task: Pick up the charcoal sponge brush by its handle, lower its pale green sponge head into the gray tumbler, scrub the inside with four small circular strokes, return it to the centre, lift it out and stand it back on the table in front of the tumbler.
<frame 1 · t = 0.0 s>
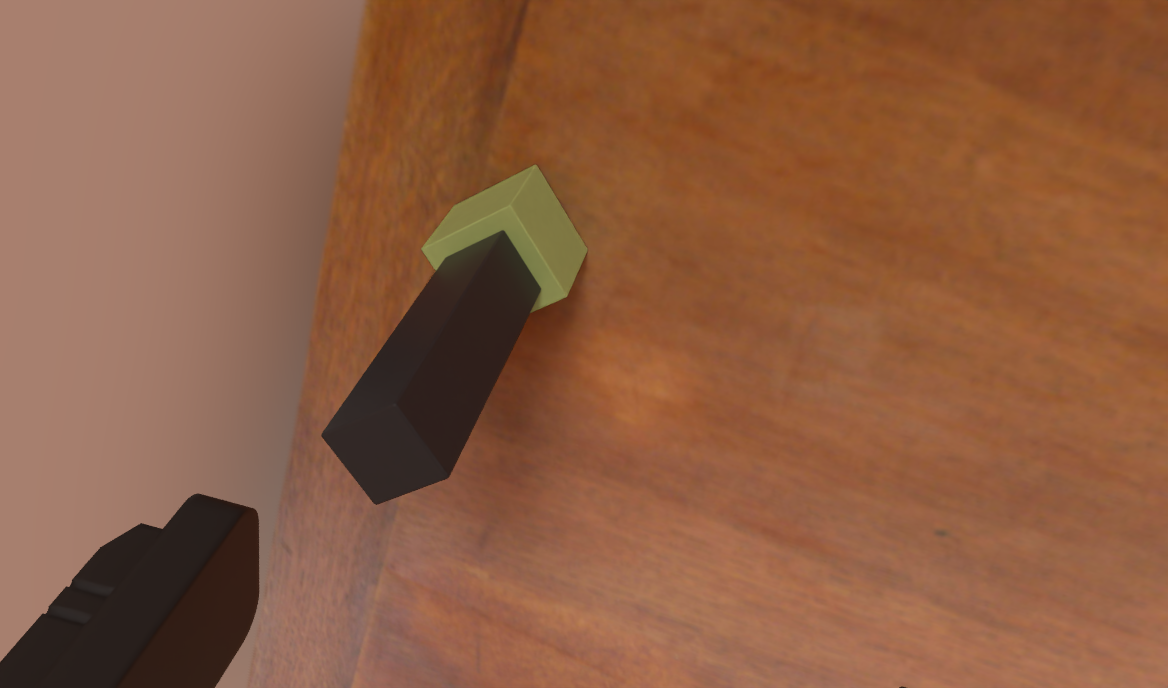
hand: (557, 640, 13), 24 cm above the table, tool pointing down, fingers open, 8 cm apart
brush: (520, 227, 37), on the table
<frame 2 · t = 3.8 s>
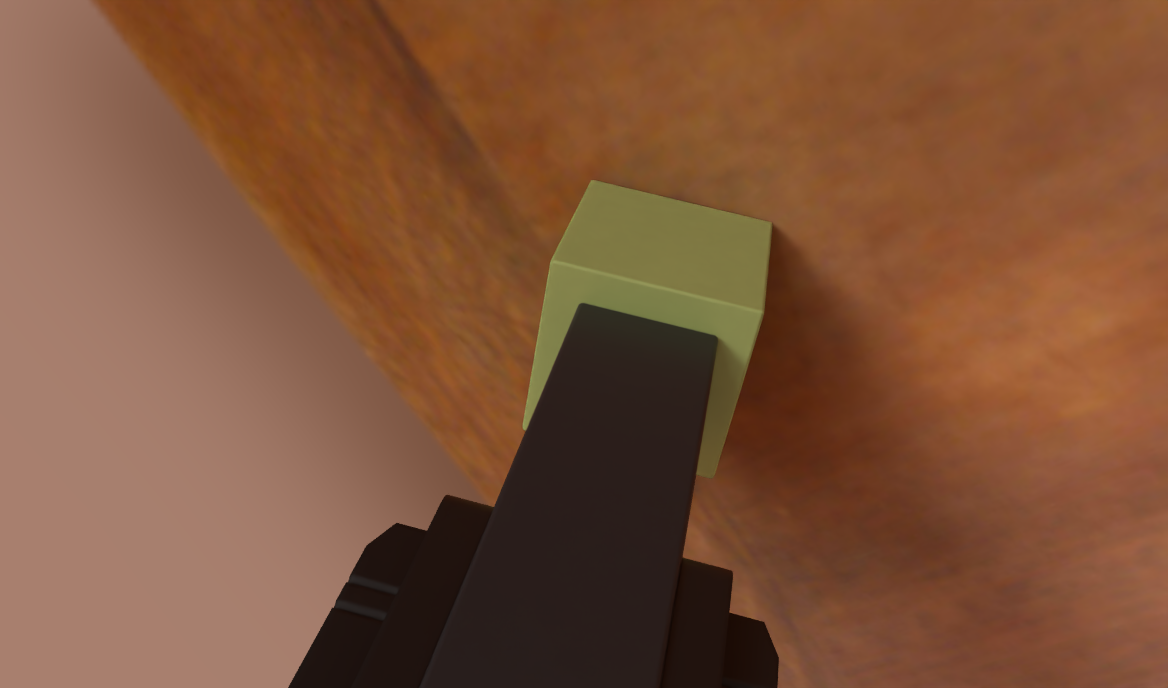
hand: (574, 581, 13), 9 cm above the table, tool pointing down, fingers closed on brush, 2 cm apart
brush: (662, 280, 21), on the table, touching gripper
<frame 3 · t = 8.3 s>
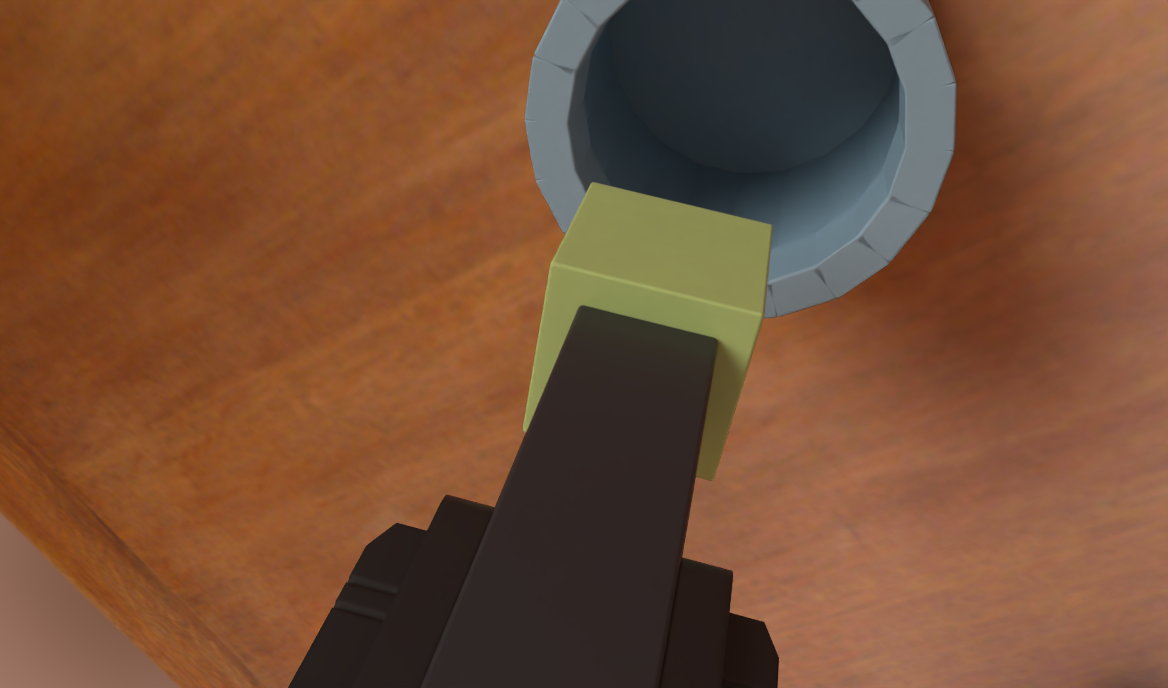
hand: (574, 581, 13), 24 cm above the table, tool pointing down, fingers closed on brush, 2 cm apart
gray tumbler: (754, 28, 33), on the table
brush: (662, 282, 21), point 15 cm above the table, touching gripper
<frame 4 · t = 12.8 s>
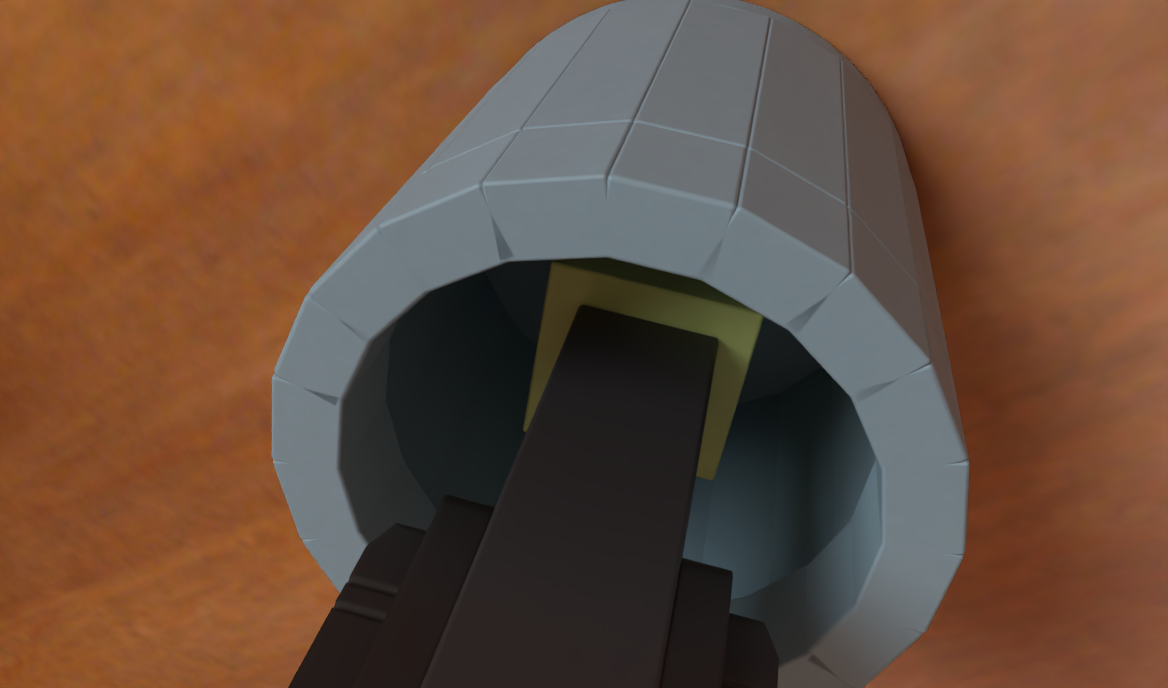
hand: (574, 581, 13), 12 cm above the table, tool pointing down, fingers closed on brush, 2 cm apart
gray tumbler: (680, 221, 23), on the table
brush: (663, 281, 21), point 3 cm above the table, touching gripper
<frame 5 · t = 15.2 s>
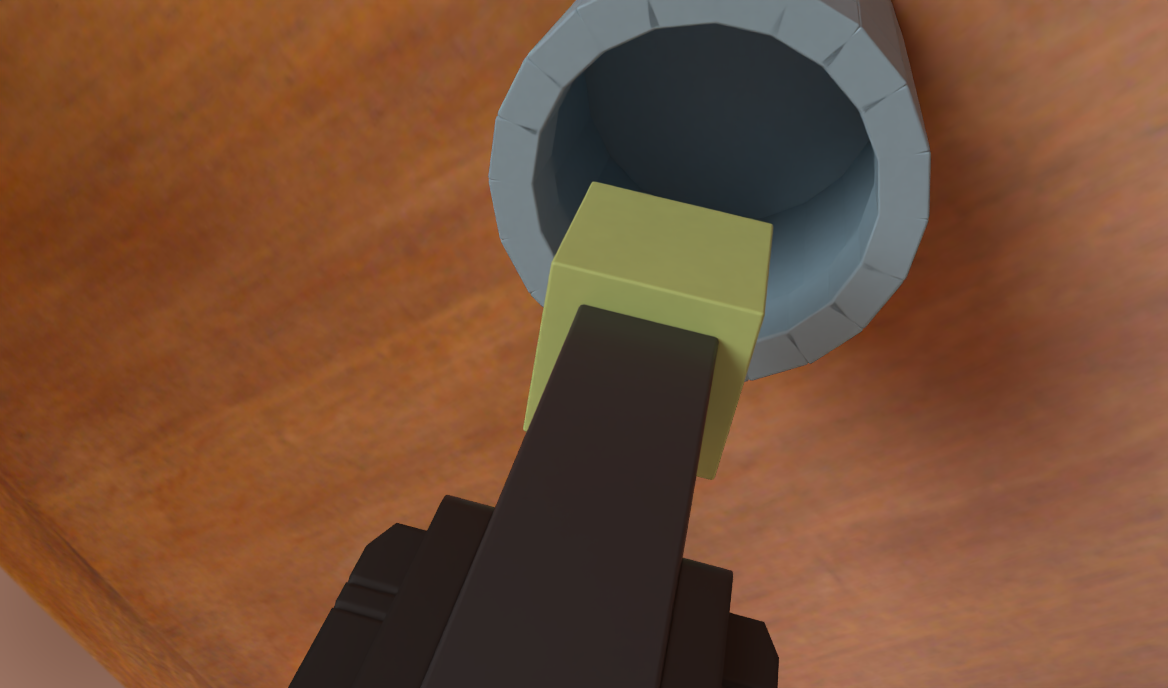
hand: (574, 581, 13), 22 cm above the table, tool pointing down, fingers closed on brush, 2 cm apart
gray tumbler: (733, 74, 32), on the table
brush: (663, 281, 21), point 14 cm above the table, touching gripper
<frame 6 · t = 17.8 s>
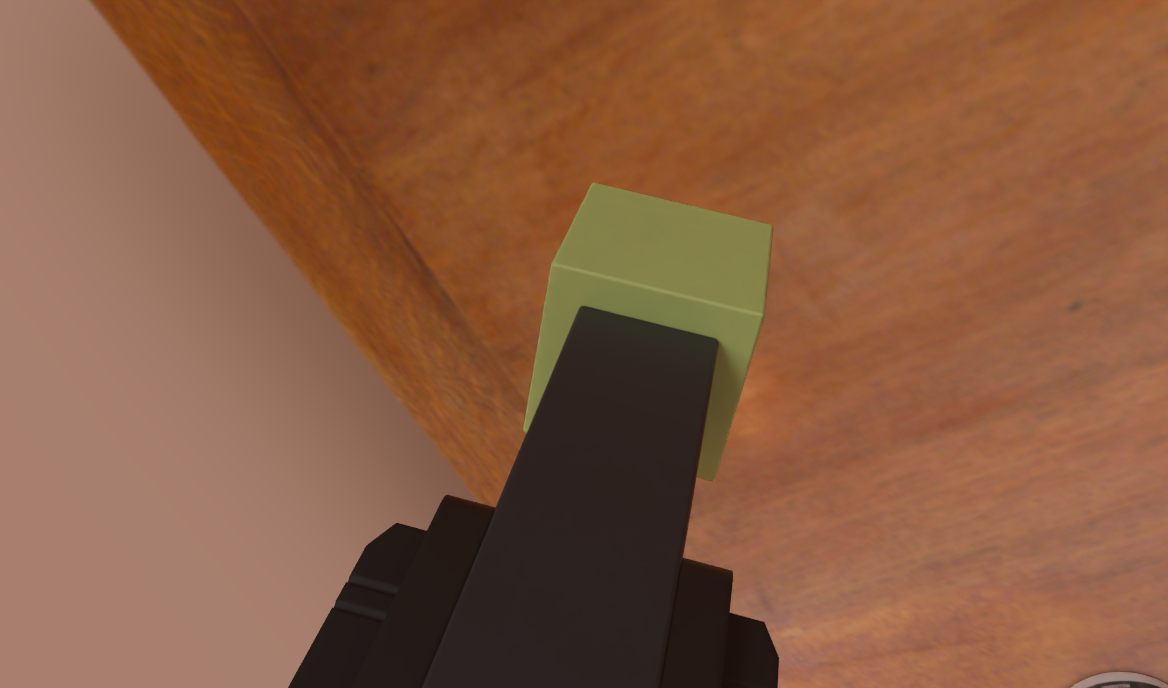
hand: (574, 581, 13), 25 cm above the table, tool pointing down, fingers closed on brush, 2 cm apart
brush: (663, 282, 21), point 16 cm above the table, touching gripper
when the fingers open (9 cm above the table, at t = 22.1 s): brush stays where it is, on the table.
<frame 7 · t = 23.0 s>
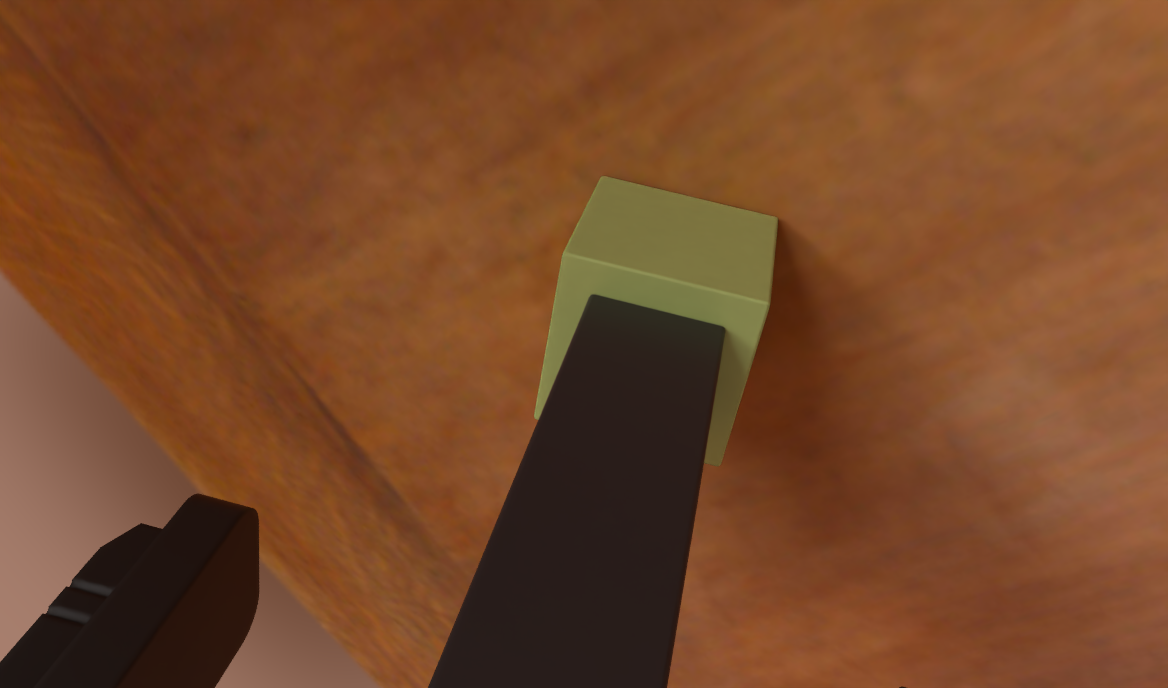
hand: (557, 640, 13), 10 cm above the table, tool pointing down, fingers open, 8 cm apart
brush: (670, 273, 21), on the table
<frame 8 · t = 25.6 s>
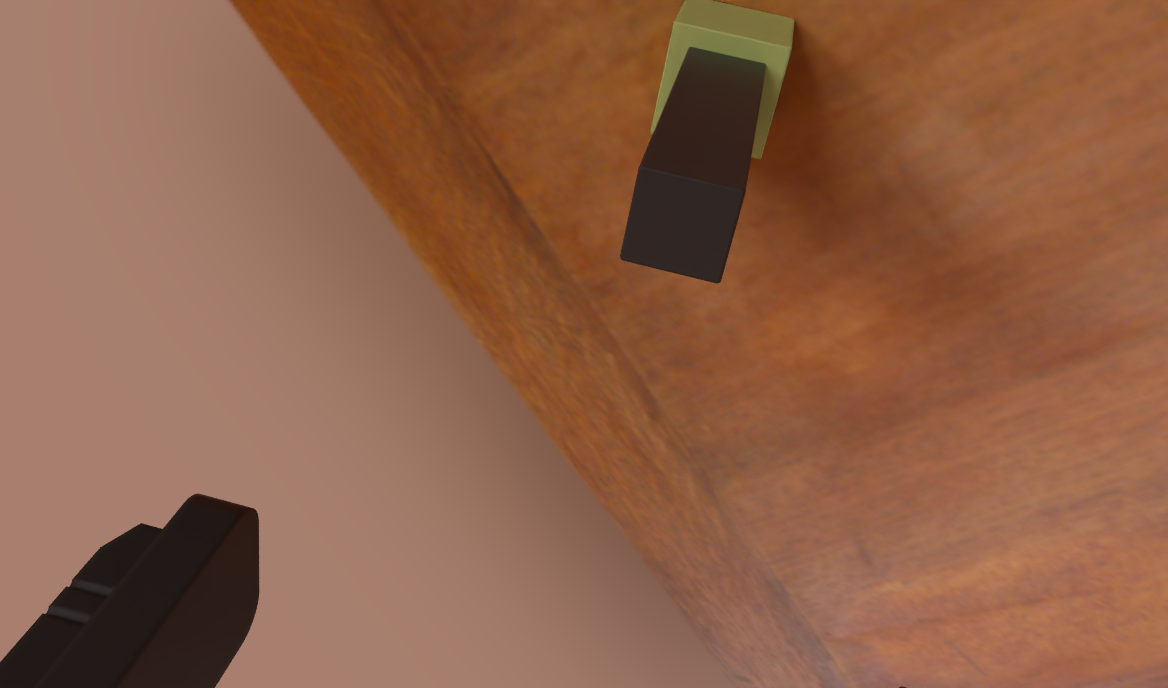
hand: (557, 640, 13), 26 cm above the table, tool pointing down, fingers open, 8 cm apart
brush: (727, 60, 35), on the table
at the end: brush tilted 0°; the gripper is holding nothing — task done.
